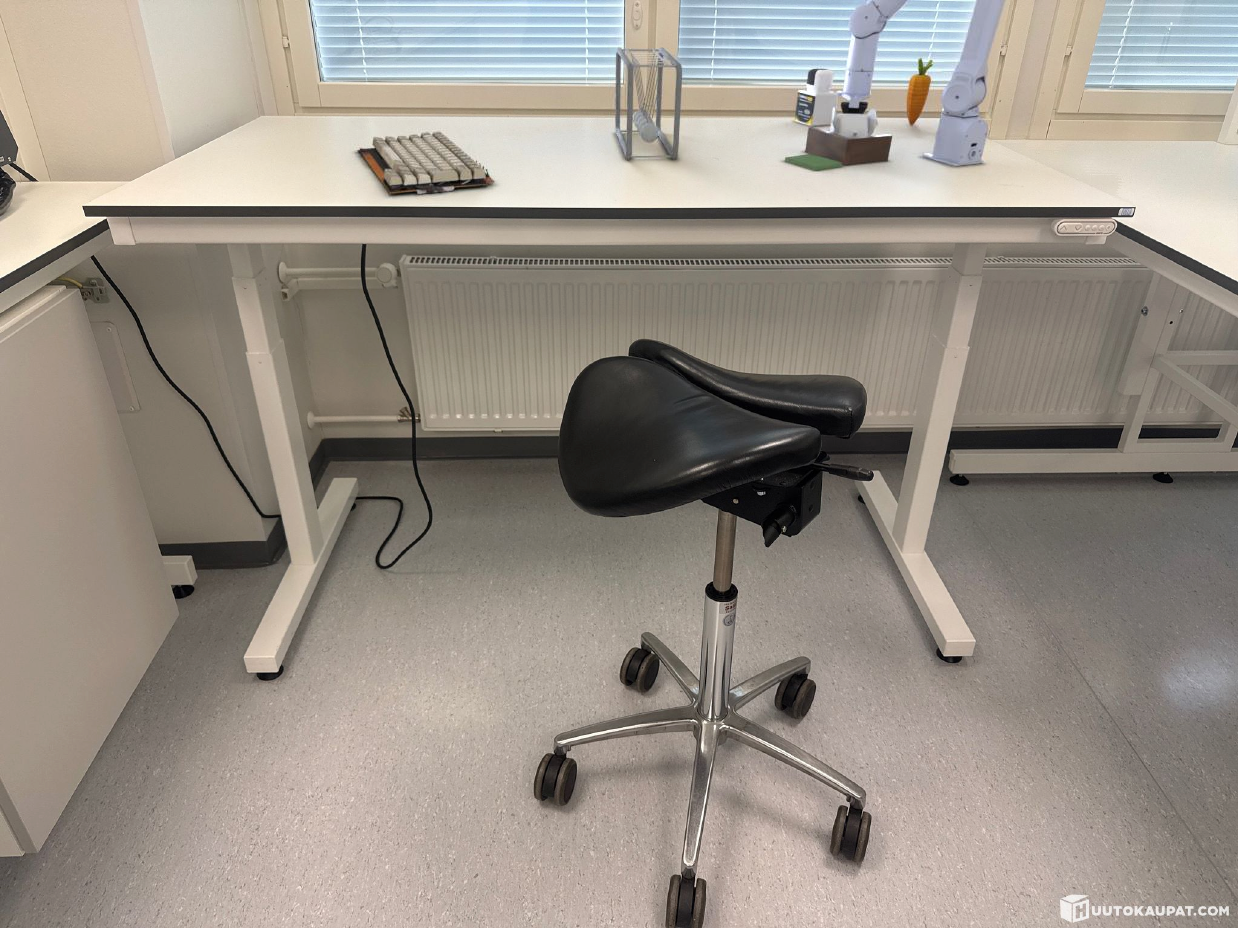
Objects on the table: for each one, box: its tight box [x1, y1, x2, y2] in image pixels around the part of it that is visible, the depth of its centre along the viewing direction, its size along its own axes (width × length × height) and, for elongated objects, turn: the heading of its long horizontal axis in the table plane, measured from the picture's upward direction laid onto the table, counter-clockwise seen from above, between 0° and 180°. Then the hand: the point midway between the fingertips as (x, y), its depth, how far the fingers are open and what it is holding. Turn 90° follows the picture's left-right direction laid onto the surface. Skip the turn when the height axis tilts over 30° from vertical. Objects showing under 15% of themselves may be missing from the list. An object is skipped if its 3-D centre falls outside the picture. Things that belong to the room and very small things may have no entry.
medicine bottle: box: [794, 68, 840, 127], centre depth 198 cm, size 7×7×12 cm
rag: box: [784, 153, 843, 171], centre depth 165 cm, size 9×7×1 cm
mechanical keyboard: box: [356, 131, 495, 195], centre depth 156 cm, size 38×19×3 cm, turn 24°
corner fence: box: [804, 126, 894, 167], centre depth 170 cm, size 13×11×5 cm
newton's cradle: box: [614, 46, 683, 161], centre depth 172 cm, size 30×10×18 cm, turn 5°
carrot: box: [906, 57, 934, 126], centre depth 197 cm, size 5×5×15 cm
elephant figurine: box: [828, 107, 879, 138], centre depth 172 cm, size 10×12×9 cm
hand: (849, 138), depth 180 cm, fingers closed
